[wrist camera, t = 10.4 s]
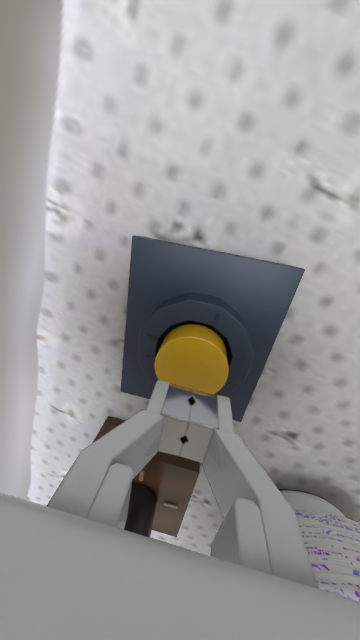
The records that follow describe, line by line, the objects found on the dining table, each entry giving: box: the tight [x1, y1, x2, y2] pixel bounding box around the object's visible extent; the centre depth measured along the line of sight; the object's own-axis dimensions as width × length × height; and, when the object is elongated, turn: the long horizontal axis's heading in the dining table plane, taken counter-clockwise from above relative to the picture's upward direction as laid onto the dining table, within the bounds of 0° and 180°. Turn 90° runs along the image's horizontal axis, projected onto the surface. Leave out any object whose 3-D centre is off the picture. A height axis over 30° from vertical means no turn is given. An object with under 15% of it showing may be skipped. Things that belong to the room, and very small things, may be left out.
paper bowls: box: [280, 491, 360, 601], centre depth 18 cm, size 15×15×8 cm
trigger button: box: [155, 324, 229, 394], centre depth 11 cm, size 4×4×2 cm
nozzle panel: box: [93, 417, 200, 537], centre depth 21 cm, size 12×10×3 cm
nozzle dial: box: [124, 483, 157, 537], centre depth 18 cm, size 4×4×4 cm
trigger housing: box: [121, 236, 305, 422], centre depth 13 cm, size 12×10×4 cm
